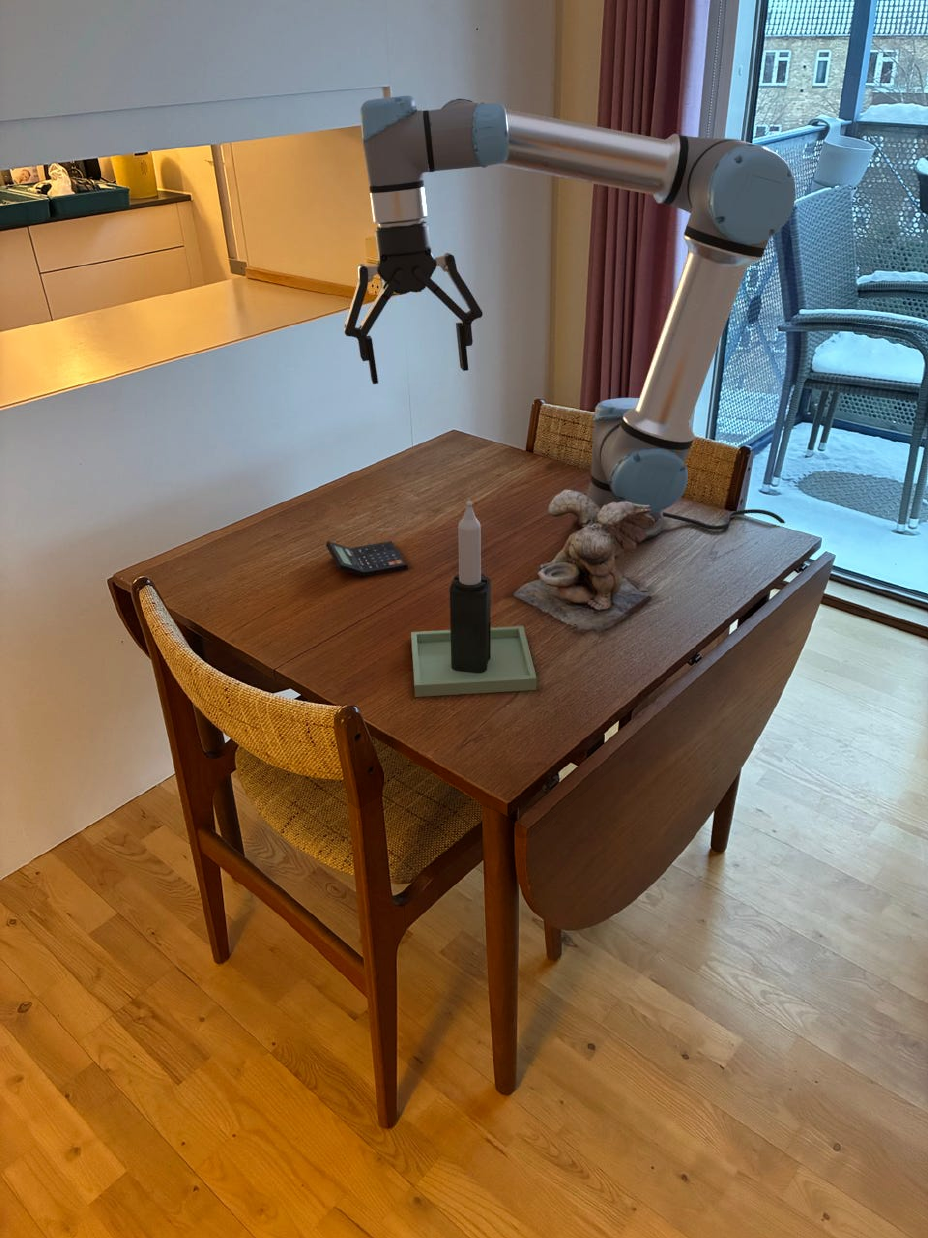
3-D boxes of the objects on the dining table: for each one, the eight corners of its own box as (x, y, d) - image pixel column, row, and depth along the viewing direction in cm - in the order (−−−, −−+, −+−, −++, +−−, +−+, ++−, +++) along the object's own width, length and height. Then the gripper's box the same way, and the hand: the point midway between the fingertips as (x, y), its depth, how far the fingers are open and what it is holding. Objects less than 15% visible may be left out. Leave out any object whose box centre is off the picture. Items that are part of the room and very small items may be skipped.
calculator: (407, 568, 162) (406, 552, 160) (340, 581, 158) (338, 565, 157) (391, 545, 169) (390, 530, 168) (327, 556, 166) (325, 541, 164)
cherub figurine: (504, 598, 153) (505, 494, 144) (574, 559, 164) (579, 460, 155) (593, 638, 142) (601, 529, 133) (662, 593, 153) (673, 490, 144)
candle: (485, 674, 134) (484, 510, 121) (449, 670, 135) (445, 507, 122) (492, 654, 138) (492, 494, 125) (457, 651, 139) (453, 491, 126)
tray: (523, 637, 143) (523, 625, 142) (536, 690, 131) (536, 678, 130) (411, 643, 142) (410, 631, 141) (414, 697, 130) (414, 685, 129)
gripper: (483, 209, 139) (495, 358, 148) (310, 231, 136) (335, 381, 145) (494, 213, 132) (506, 368, 142) (313, 236, 129) (338, 393, 139)
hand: (419, 375), depth 144 cm, fingers open, 13 cm apart
